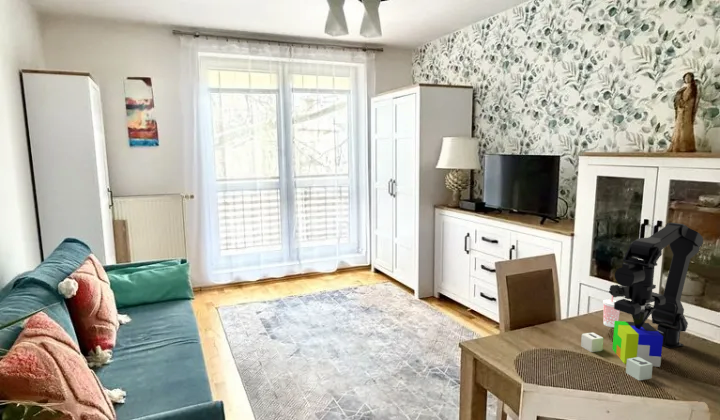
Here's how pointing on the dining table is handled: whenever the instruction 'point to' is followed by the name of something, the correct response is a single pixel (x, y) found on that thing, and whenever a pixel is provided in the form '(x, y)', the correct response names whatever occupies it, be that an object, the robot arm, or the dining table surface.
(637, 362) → the digit block seven
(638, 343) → the puzzle toy
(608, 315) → the beverage cup
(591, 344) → the digit block one
